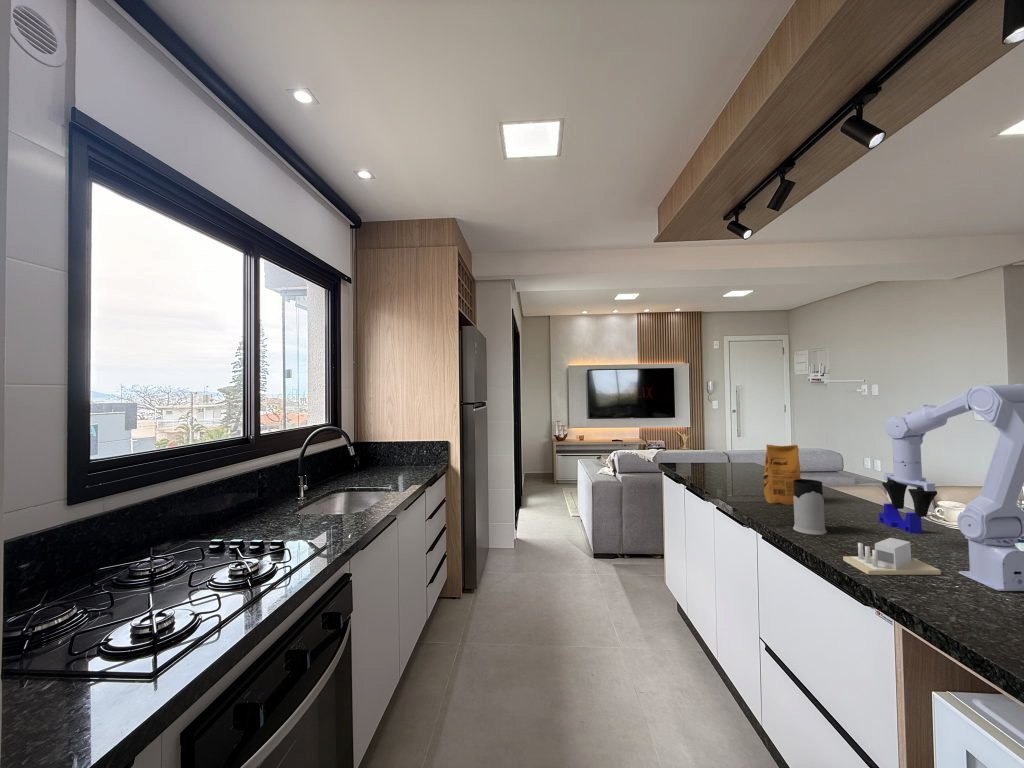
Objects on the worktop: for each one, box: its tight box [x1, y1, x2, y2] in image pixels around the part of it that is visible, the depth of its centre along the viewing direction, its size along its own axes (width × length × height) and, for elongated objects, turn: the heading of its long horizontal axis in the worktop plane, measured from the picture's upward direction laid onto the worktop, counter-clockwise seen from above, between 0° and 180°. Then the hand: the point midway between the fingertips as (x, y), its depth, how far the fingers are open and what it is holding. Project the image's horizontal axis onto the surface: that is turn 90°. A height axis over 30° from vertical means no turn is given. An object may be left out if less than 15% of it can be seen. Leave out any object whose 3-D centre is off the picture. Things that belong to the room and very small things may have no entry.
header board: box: [842, 542, 942, 576], centre depth 110 cm, size 9×16×5 cm, turn 86°
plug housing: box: [874, 537, 915, 570], centre depth 111 cm, size 4×14×5 cm, turn 119°
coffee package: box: [762, 443, 801, 506], centre depth 173 cm, size 10×12×22 cm
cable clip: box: [878, 503, 923, 535], centre depth 139 cm, size 12×4×6 cm, turn 170°
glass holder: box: [792, 478, 828, 536], centre depth 142 cm, size 9×14×15 cm, turn 167°
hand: (909, 512), depth 121 cm, fingers open, 7 cm apart
